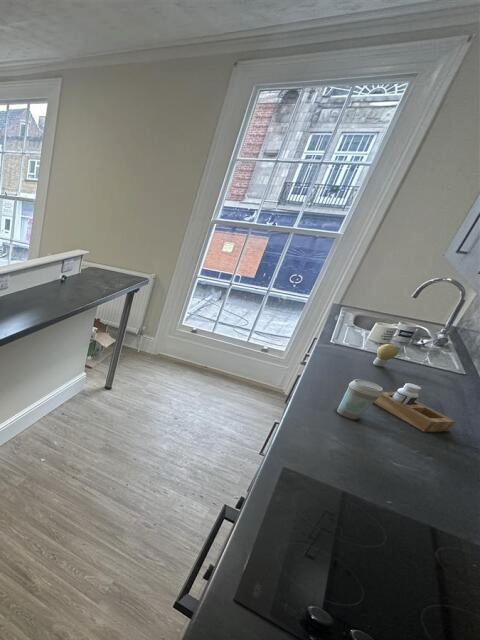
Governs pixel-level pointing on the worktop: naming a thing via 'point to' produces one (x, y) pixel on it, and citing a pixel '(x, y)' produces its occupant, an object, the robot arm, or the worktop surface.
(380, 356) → the light bulb
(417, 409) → the tray
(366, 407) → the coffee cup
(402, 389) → the pill bottle
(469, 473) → the worktop surface
